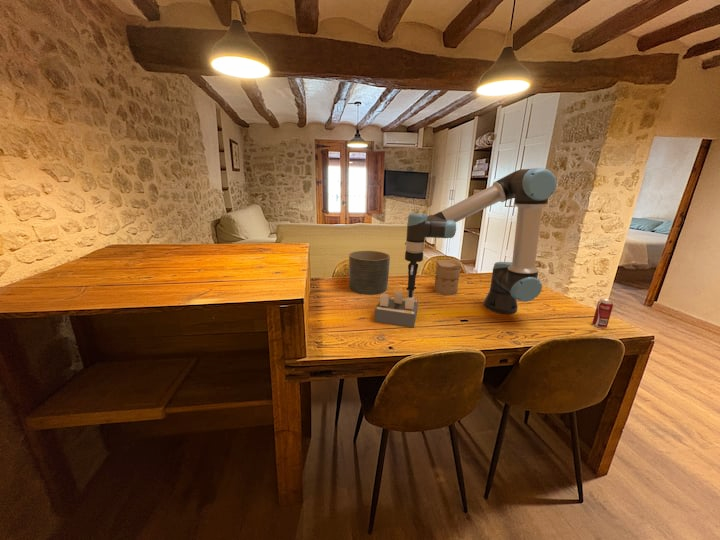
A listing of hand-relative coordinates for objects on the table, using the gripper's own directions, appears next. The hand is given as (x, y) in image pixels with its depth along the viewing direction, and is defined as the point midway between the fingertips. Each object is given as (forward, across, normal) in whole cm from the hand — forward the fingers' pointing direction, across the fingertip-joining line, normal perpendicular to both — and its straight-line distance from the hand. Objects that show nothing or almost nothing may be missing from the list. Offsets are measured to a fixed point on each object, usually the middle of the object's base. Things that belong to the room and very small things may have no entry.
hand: (410, 303), depth 132 cm
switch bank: (+7, 0, -5) cm, 9 cm away
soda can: (+8, -20, +82) cm, 85 cm away
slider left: (+1, +3, -11) cm, 11 cm away
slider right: (+1, +2, 0) cm, 3 cm away
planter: (+8, -30, -26) cm, 40 cm away
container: (+8, -39, +16) cm, 43 cm away
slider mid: (+1, -2, -5) cm, 6 cm away
